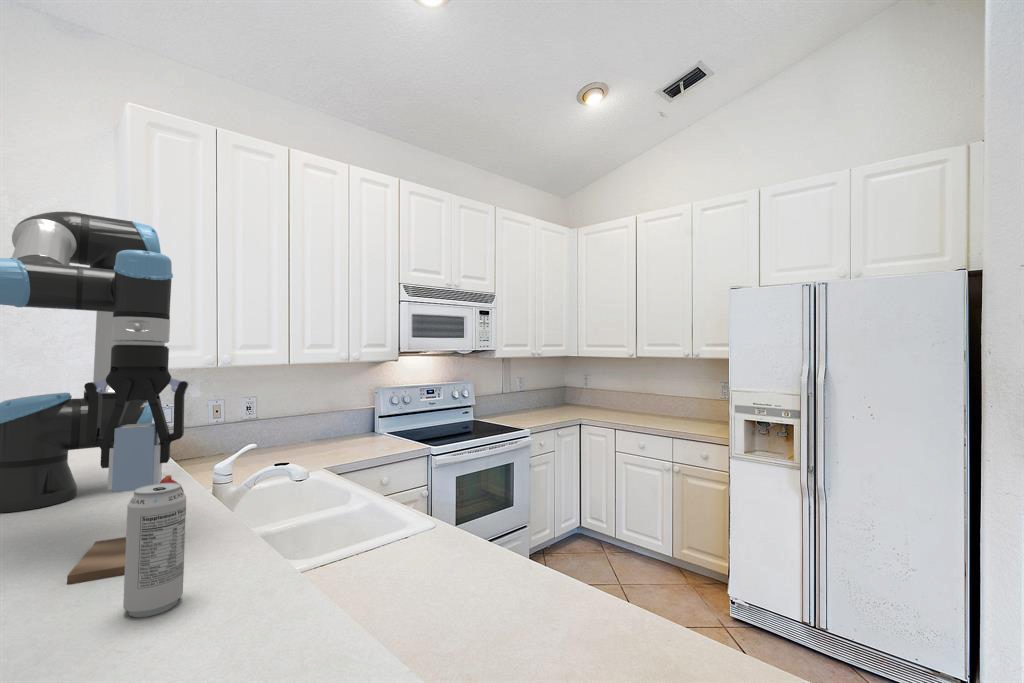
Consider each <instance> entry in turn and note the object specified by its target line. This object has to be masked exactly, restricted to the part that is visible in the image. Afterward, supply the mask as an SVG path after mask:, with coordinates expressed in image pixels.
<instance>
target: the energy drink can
mask: <svg viewBox="0 0 1024 683" xmlns="http://www.w3.org/2000/svg"><path fill="white" fill-rule="evenodd" d="M181 487H182V484H181V483H180V482H179V483H178V482H177V483H160V484H153V485H147V486H143V487H140V488H137V489H136V490H135V491H133V495H132V498H131V499H130V501H129V502H128V504H127V507H126V508H127V511H126V530H125V531H126V534H125V537H126V553H125V575H124V580H123V581H124V582H123V600H122V601H123V605H122V607H123V609H124V610H125V611H128V615H129V616H130V617H134V618H147V617H152V616H156V615H159V614H162V613H164V612H166V611H168V610H171V609H172V608H173V607H175V606H176V605H177V603H178V600H179V599H180V598H181V597H182V596H183V594H184V576H185V575H184V574H185V573H184V572H185V571H184V569H185V545H186V544H185V542H186V540H185V539H186V522H187V520H186V517H187V495H186V494H185V492H183V491H184V490H183V491H182V489H183V488H182V489H181ZM134 493H135V494H134Z"/></svg>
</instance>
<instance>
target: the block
mask: <svg viewBox="0 0 1024 683" xmlns="http://www.w3.org/2000/svg"><path fill="white" fill-rule="evenodd" d="M159 442H160V440H159V436H158V433H157V429H156V426H155V422H152V423H149V424H128V425H122V426H120V427H118V428H115V433H114V455H113V477H112V490H111V494H115V493H123V492H124V493H125V492H134V491H135V490H136V489H137V488H140V487H143V486H147V485H153V471H154V447H155V445H156V444H157V443H159Z"/></svg>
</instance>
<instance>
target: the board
mask: <svg viewBox="0 0 1024 683" xmlns="http://www.w3.org/2000/svg"><path fill="white" fill-rule="evenodd" d="M125 553H126V536H125V537H118V538H112V539H111V538H109V539H104V540H102V539H101V540H97V541H95V542H94V543H93V544H92V545H91V546H90V547H89V549H88V550H87V551H86V553H85V554H84V555H83V556H82V557H81V558H80V559H79V561H78V562H77V564H76V565H75V566H74V567H73V568H72V569H71V571H69V573H68V575H67V578H66V585H71V584H77V583H83V582H88V581H89V582H90V581H94V580H101V579H106V578H113V577H116V576H117V577H119V576H125Z"/></svg>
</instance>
